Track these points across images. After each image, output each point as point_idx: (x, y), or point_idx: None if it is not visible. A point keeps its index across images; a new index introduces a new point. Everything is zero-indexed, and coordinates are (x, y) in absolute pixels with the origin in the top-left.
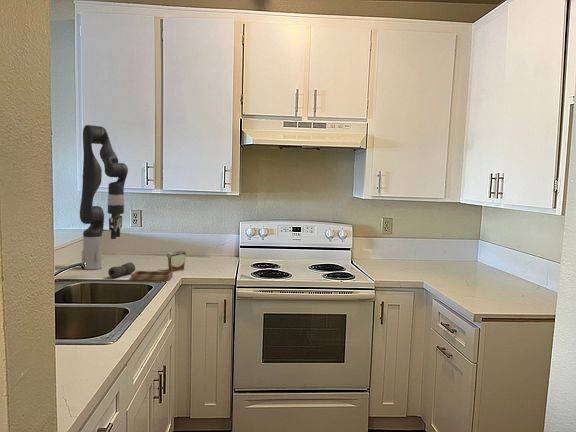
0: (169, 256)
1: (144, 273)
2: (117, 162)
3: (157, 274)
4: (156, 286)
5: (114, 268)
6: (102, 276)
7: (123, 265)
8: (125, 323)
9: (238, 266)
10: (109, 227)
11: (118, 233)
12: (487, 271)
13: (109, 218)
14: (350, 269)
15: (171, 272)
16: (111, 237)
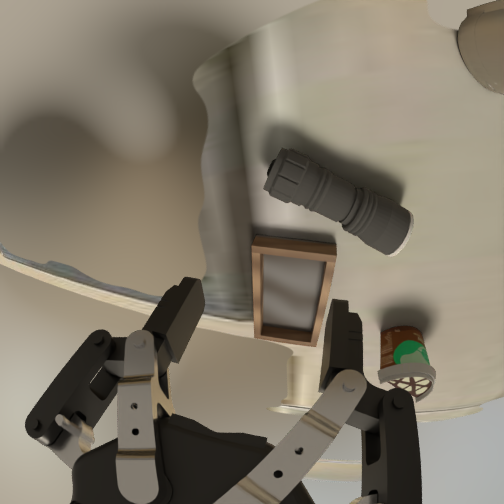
0: (381, 373)
1: (323, 276)
2: None
3: (317, 308)
4: None
5: (269, 185)
6: (321, 108)
7: (355, 214)
8: (23, 259)
9: None
10: (79, 351)
11: (325, 348)
12: (316, 479)
13: (28, 428)
14: (341, 460)
15: (302, 344)
16: (171, 287)
